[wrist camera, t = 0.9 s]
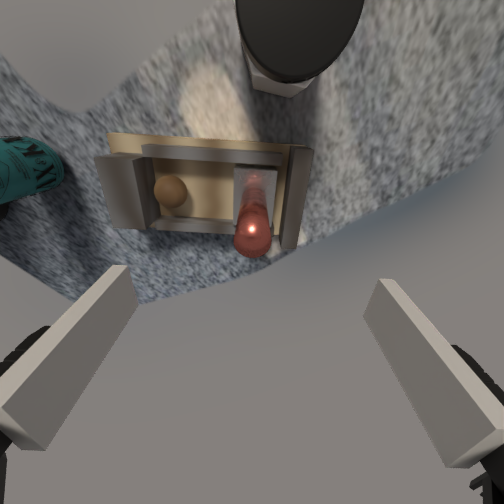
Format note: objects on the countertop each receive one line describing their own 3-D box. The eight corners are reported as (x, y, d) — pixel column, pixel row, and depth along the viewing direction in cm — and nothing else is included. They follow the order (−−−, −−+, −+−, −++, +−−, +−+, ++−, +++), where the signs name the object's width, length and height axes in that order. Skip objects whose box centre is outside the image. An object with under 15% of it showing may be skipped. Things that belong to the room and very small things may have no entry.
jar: (278, 116, 27) (292, 113, 17) (226, 58, 24) (204, 11, 14) (338, 43, 24) (402, -19, 13) (285, -34, 21) (314, -186, 11)
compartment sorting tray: (135, 220, 34) (109, 241, 28) (115, 132, 28) (77, 135, 22) (290, 230, 35) (297, 252, 29) (303, 144, 29) (316, 151, 23)
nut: (163, 201, 31) (151, 211, 27) (158, 171, 29) (145, 178, 25) (192, 203, 31) (184, 213, 27) (189, 173, 29) (180, 180, 25)
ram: (234, 216, 31) (221, 275, 19) (235, 164, 28) (220, 196, 16) (270, 218, 32) (278, 278, 19) (275, 166, 28) (290, 200, 16)
